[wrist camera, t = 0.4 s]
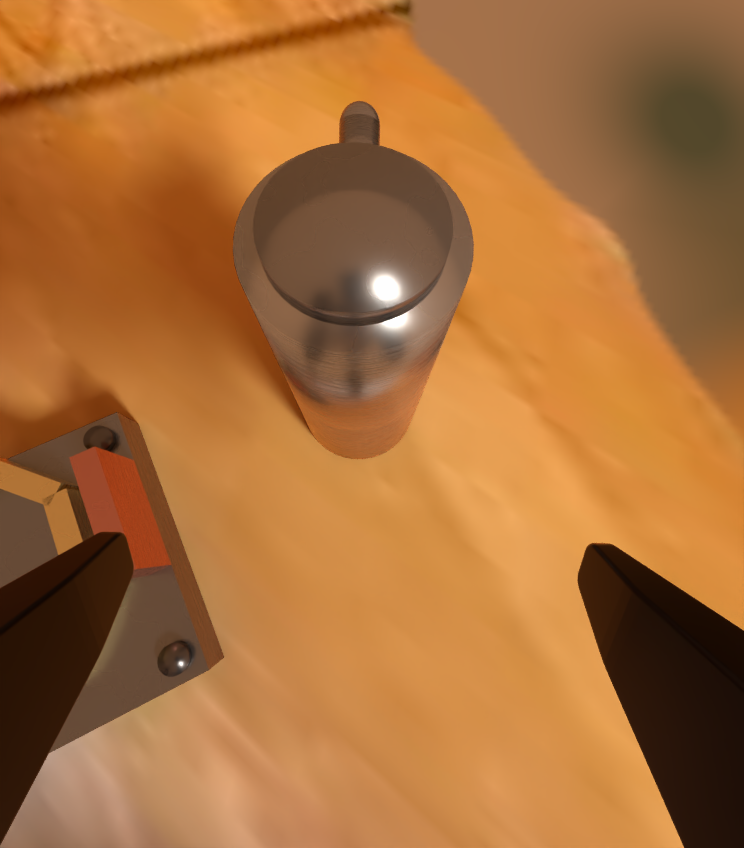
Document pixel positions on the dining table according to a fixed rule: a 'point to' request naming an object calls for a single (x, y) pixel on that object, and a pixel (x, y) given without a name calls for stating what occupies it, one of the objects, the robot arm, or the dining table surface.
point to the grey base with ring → (150, 549)
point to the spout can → (354, 280)
